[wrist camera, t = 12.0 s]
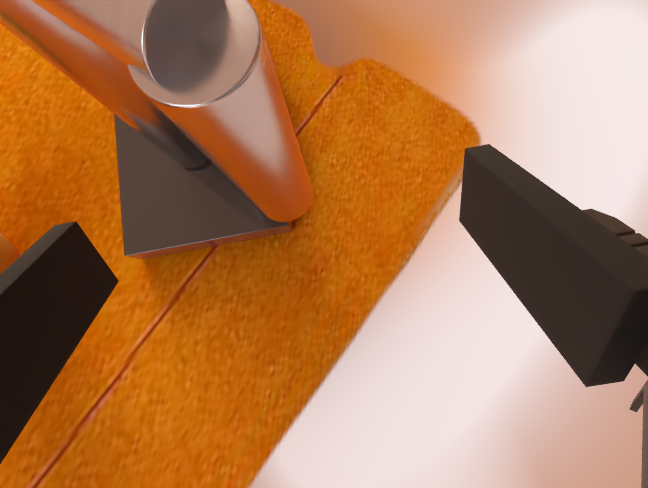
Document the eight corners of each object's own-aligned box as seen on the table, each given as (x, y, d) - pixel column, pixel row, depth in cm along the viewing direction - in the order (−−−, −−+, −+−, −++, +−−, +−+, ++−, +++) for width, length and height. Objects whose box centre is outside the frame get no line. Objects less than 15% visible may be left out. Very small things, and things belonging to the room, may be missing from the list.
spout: (163, 153, 25) (-292, -204, 7) (190, 119, 25) (-184, -304, 7) (305, 254, 23) (164, 108, 5) (332, 216, 23) (286, -45, 5)
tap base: (127, 96, 28) (111, 81, 26) (266, 68, 28) (260, 50, 26) (141, 259, 26) (124, 256, 24) (293, 231, 25) (288, 225, 23)
